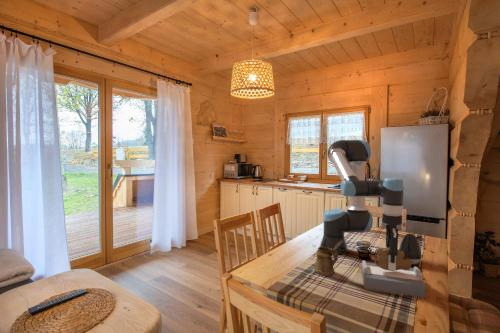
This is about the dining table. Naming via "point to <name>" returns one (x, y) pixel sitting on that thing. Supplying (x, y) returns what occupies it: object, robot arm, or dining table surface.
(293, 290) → the dining table surface
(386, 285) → the open storage tray
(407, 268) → the wooden carving
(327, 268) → the wooden mug
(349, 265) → the dining table surface
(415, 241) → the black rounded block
